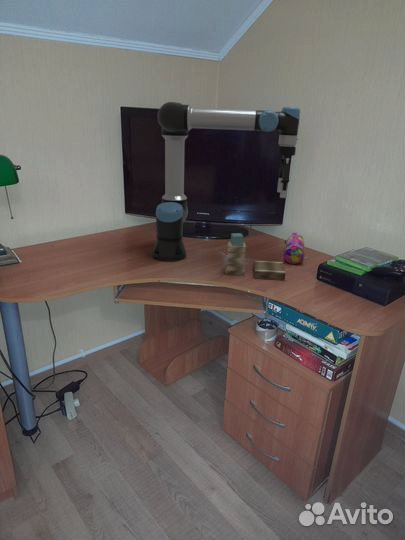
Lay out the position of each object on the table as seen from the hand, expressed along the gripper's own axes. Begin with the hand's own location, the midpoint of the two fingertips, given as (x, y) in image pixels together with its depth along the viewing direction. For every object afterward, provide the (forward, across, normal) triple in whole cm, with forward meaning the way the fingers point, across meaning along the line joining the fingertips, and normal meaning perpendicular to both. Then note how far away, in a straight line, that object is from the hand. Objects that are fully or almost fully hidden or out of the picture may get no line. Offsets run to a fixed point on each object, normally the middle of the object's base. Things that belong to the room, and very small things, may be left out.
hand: (281, 194), depth 174 cm
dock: (+28, -27, +5) cm, 39 cm away
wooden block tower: (+28, -27, +19) cm, 43 cm away
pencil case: (+28, -4, -8) cm, 30 cm away
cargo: (+16, -27, +19) cm, 37 cm away
